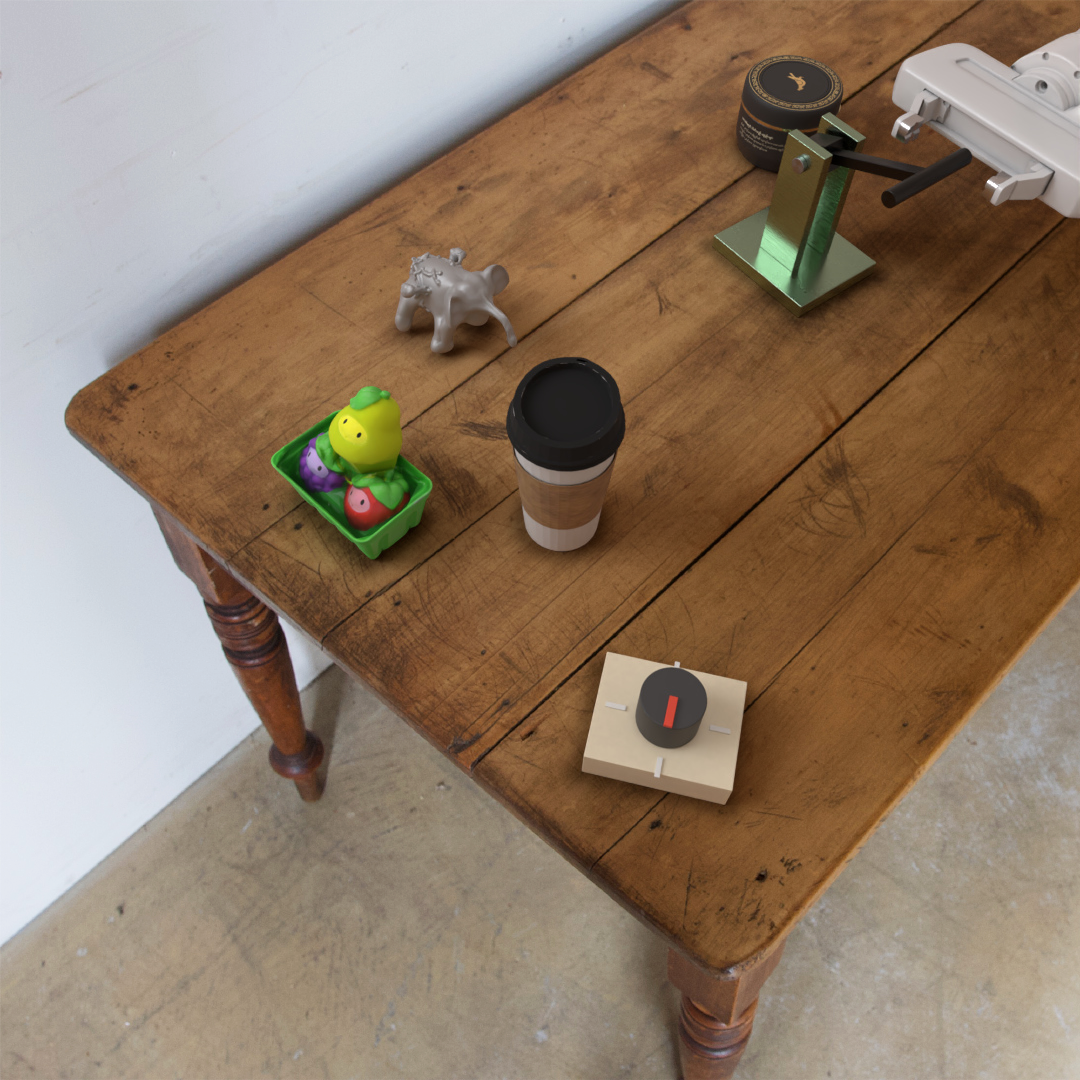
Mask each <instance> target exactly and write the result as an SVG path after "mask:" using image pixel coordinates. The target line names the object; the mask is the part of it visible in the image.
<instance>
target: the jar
mask: <svg viewBox="0 0 1080 1080" xmlns="http://www.w3.org/2000/svg"><path fill="white" fill-rule="evenodd" d="M740 95H741V96H740V105H739V109H738V116H737V120H736V127H735V134H736V143H737V147H738V150H739V151H740V153H741V154H742V156H743V157H744V158H745V160H746V161H748V162H749V163H750V164H752V165H753V166H755V167H757V168H759V169H761V170H764V171H766V172H771V173H776V174H778V172H779V168H780V164H781V160H782V156H783V152H784V148H785V144H786V140H787V136H788V133H789V132H791V131H793V130H795V129H797V130H799V131H800V132H802V133H803V134H804V135H806V136H807V137H811V136H813V135H815V134H817V131H818V127H819V124H820V120H821V117H822V116H823V115H825V114H827V113H829V112H830V113H831V114H833V115H834V116H836V117H837V118H838V117H839V114H840V112H841V107H842V100H843V96H844V84H843V81H842V79H841V77H840V76H839V74H838V73H837V71H836V70H834V69H832V67H830V66H829V65H827V64H825V63H824V62H821V61H820V60H817V59H815V58H812V57H808V56H804V55H796V54H780V55H774V56H769V57H767V58H763V59H761V60H760V61H758V62H757V63H755V64H754V65H753V66H752V67H751V68H750V69H749V70H748V72H747V74H746V76H745V79H744V82H743V87H742V90H741V94H740Z"/></svg>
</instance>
